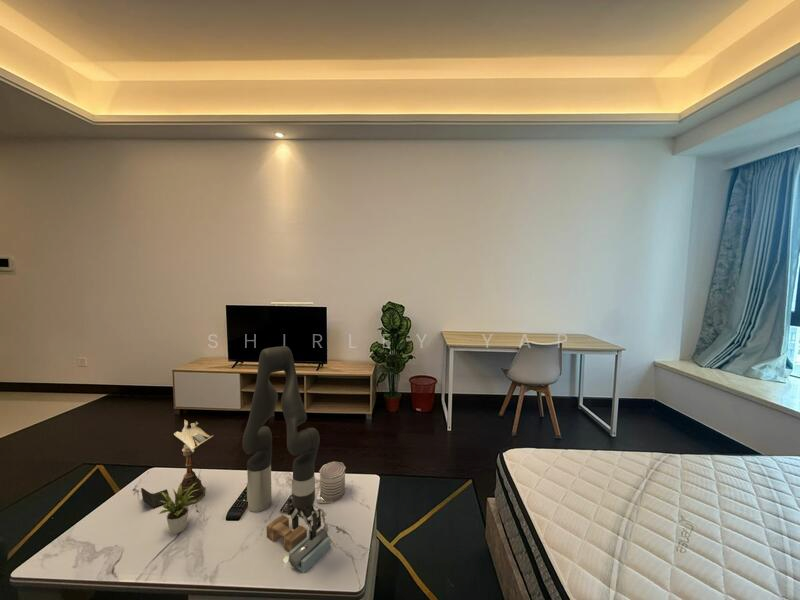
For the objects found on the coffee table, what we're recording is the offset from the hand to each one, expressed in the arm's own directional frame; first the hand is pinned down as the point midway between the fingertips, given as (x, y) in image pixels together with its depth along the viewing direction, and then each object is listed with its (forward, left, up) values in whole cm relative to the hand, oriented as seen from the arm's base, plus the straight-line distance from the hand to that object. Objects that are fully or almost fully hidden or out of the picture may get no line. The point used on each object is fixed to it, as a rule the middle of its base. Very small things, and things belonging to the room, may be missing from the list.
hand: (303, 533), depth 112 cm
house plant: (-50, -17, -10) cm, 54 cm away
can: (-16, +30, -10) cm, 36 cm away
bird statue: (-65, -4, -10) cm, 66 cm away
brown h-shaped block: (-12, +2, -9) cm, 16 cm away
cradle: (0, +2, -9) cm, 10 cm away
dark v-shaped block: (-77, -15, -10) cm, 79 cm away
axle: (0, +2, -6) cm, 7 cm away
